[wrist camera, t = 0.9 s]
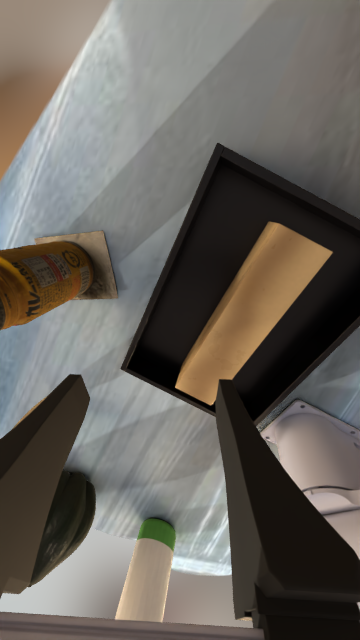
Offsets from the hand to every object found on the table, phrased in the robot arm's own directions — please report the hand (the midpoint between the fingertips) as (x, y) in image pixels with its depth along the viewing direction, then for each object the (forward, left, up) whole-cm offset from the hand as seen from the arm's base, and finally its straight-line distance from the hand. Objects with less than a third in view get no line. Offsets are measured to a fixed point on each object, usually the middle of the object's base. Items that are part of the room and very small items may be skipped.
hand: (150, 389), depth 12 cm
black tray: (-5, -1, -14) cm, 15 cm away
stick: (-5, -1, -14) cm, 15 cm away
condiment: (+13, +3, -14) cm, 20 cm away
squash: (+4, +48, -14) cm, 50 cm away
